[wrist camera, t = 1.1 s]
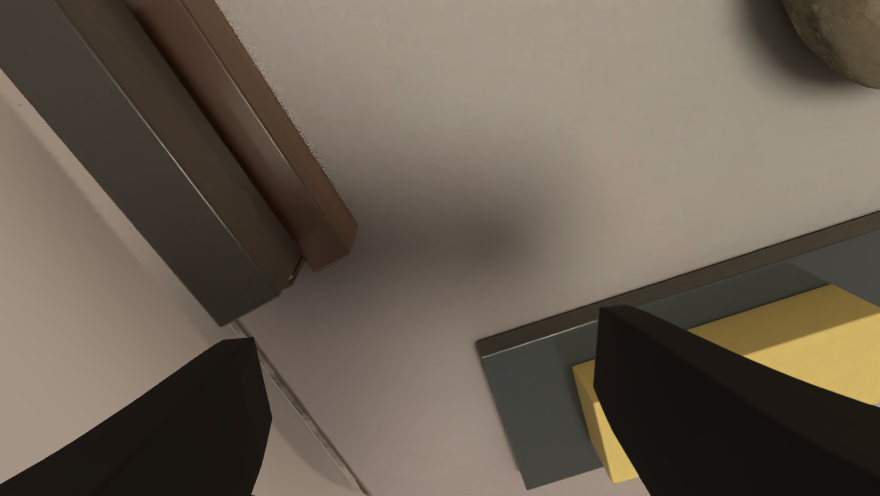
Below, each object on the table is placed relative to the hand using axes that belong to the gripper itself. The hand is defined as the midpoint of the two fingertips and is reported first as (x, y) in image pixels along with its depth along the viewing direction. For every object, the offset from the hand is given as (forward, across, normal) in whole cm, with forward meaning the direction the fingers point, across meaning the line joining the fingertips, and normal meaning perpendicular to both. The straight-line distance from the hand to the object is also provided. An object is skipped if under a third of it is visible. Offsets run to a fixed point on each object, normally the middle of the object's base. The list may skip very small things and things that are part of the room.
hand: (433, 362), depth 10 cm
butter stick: (+8, -14, +6) cm, 17 cm away
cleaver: (+9, +6, -4) cm, 11 cm away
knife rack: (+9, +6, -4) cm, 11 cm away
